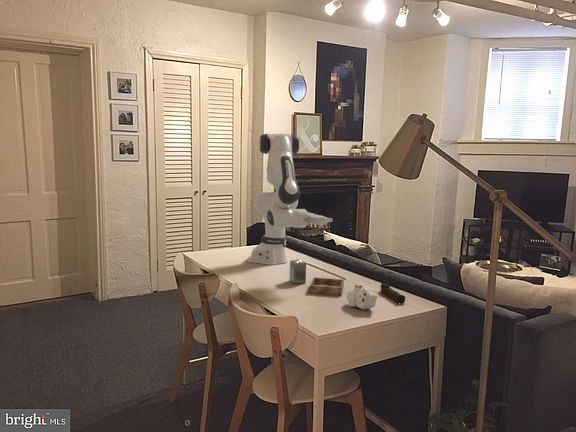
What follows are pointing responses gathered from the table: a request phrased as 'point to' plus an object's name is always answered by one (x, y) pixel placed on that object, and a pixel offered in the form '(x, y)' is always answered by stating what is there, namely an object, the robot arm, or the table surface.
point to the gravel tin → (298, 271)
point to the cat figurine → (361, 298)
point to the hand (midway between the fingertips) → (327, 218)
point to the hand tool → (392, 293)
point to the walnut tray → (327, 286)
